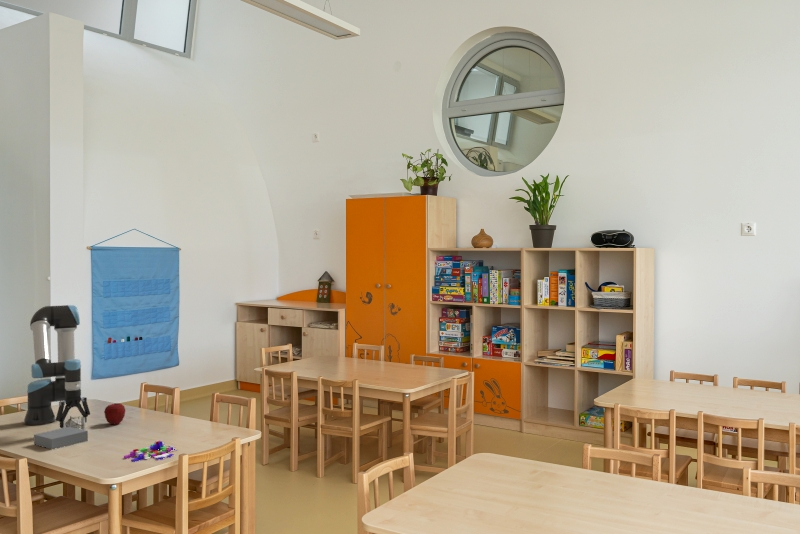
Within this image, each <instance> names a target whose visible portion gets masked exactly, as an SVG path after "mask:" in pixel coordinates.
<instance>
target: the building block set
mask: <svg viewBox="0 0 800 534" xmlns="http://www.w3.org/2000/svg"><path fill="white" fill-rule="evenodd" d="M165 445H166V444H165V442H164V441H161V440H155V441H154V442H153V443H152V444H150V446H147V447H142V448H135V449H133V450H132V451H129V454H126V455H123V459H124V458H125V460H127V458H128V459H131V458H130V457H132V459H131V462H133V461H134V462H133V463H135V461H136V462H140V461H142V460H145V459H149V460H151V458H152V457H155V458H154V459H160V460H164V459H163V458H165V457H167V458H168V457H169V458H172V457H173V456H172V455H175V454H173V453H171V452H170V451H171V450H173V447H169V448H167V447H168V446H167V447H165ZM158 449H159V450H162V451H159V450H158ZM157 450H158V451H157ZM174 450H175V449H174ZM151 451H152V452H154V453H152V452H151ZM147 452H150V453H147ZM166 452H170V453H166ZM157 454H162V455H157ZM156 455H157V456H156ZM134 456H135V457H136V456H137V457H136V458H135V457H134ZM150 456H151V457H150ZM171 456H172V457H171ZM141 459H142V460H141ZM165 459H166V458H165ZM139 460H140V461H139Z"/></svg>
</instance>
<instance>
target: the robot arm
mask: <svg viewBox="0 0 800 534" xmlns="http://www.w3.org/2000/svg"><path fill="white" fill-rule="evenodd" d="M29 323H30V325H29V326H30V327H29V328H30V330H31V332H32V337H33V338H32V339H33V352H34V364H32V365H30V367H31V368H30V369H31V370H30V371H31V377H32V378H33V379H37V380H34V381H30V382H29V383H28V385H27V391H26V393H27V411H26V413H25V416H24V419H23V424H24V425H25V424H26V425H27V426H39V425H46V424H51V423H53V422H55V421H56V422H59V429H61V428H66V426H65V423H66V421H65V419H66V418H67V415H68V413H69V412H70V410H71V409H72V408H77V410H78V412H79V413H80V414H81V416H80V422H81V424H82V425H83V426H81V427H80V429H82V430H86V423H87V421H88V420H87V417H88V416H90V415H91V411H90V408H89V405H88V398H87V397H85V396H83V397H82V375H81V373H82V372H81V371H82V369H81V367H82V364H81V360H80V359H78V358H75V357H76V356H75V355H76V354H75V353H76V352H75V330H77V329H78V327H77V326H79V325H81V324H80V314H79V310H78V307H77V306H76V305H74V304H73V305H71V304H70V305H69V304H67V305H47V306H46V305H45V306H43V307H41V308H39V309H37V310H36V312H34V314H33V315H32V317H31V319H30V322H29ZM51 327H53V329H54V331H55V332H56V333H57V362H52V356H51V346H50V345H51V344H50V334H49V329H50V328H51ZM51 378H54V380H52V379H51ZM55 402H58V404H59V405H58V409H57V413H56V416H55V413H54V410H53V408H52V403H55Z"/></svg>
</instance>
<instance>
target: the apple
mask: <svg viewBox="0 0 800 534" xmlns="http://www.w3.org/2000/svg"><path fill="white" fill-rule="evenodd" d="M125 414H126V408H125V405H124V404H122V403H117V402H116V403H112V404H109V405H107V406H106V407H105V409H104V417H105V419H106V421H107V423H109V424H110V425H120V423H121V422H123V420H124V418H125Z"/></svg>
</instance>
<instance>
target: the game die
mask: <svg viewBox="0 0 800 534" xmlns="http://www.w3.org/2000/svg"><path fill="white" fill-rule="evenodd" d="M81 426H83V425H82V424H81V416H78V417H72V415H70V416H69V419H68V420H67V421H65V428H66V427H73V428H78V429H81Z"/></svg>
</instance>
